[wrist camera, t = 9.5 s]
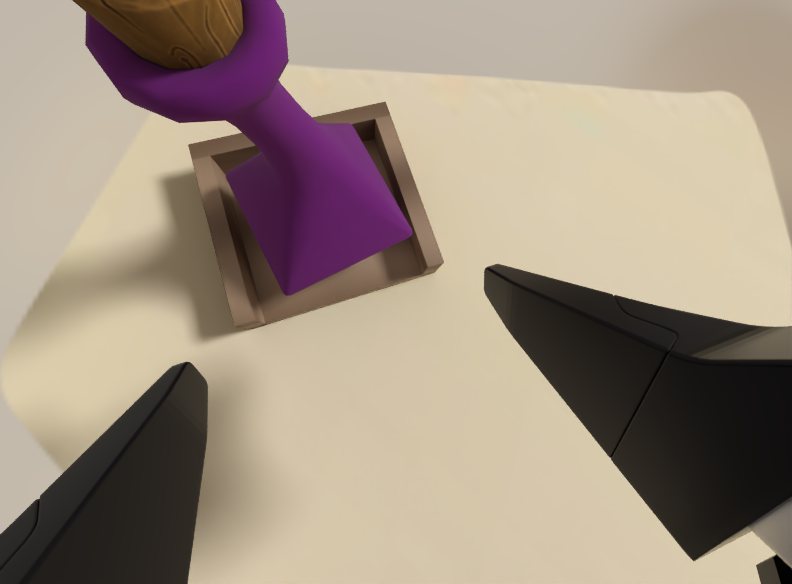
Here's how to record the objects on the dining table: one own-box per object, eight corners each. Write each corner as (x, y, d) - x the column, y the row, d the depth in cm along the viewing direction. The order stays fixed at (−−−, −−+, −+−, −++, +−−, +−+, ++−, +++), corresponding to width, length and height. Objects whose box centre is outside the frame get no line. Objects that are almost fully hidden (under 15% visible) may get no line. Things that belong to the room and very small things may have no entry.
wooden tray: (434, 272, 20) (443, 262, 18) (251, 329, 19) (234, 326, 16) (383, 129, 22) (385, 101, 19) (209, 169, 20) (188, 144, 18)
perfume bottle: (299, 306, 19) (-1083, -519, 1) (247, 202, 19) (-993, -1293, 2) (406, 252, 20) (742, -535, 2) (353, 157, 21) (273, -988, 3)
